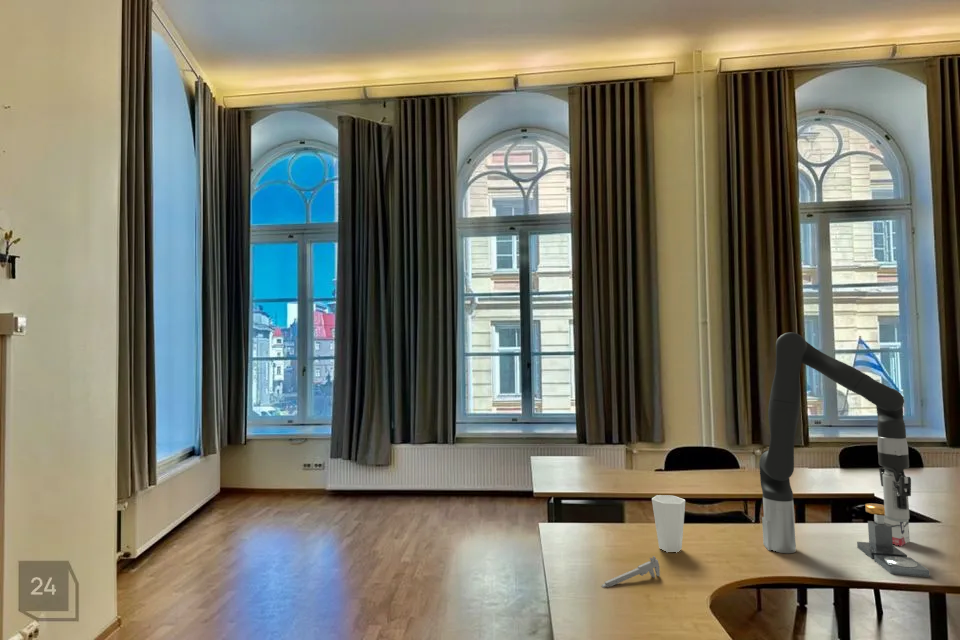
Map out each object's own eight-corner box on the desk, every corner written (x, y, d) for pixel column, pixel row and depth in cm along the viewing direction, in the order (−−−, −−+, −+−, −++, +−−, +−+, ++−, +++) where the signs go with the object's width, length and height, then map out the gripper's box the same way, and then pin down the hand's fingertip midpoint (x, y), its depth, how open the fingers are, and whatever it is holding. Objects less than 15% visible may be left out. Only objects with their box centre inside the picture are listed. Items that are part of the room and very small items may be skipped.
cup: (693, 552, 174) (691, 501, 175) (670, 557, 170) (668, 505, 171) (670, 541, 184) (668, 493, 185) (647, 545, 180) (646, 496, 181)
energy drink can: (900, 516, 163) (897, 469, 164) (914, 522, 157) (911, 473, 158) (880, 516, 163) (877, 468, 164) (893, 522, 157) (890, 473, 158)
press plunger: (873, 536, 168) (871, 508, 169) (863, 529, 175) (861, 502, 176) (898, 538, 167) (896, 510, 167) (886, 531, 173) (885, 504, 174)
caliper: (657, 575, 156) (656, 555, 157) (659, 577, 155) (659, 556, 156) (601, 587, 149) (600, 565, 150) (603, 588, 148) (602, 566, 149)
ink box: (901, 546, 177) (899, 512, 178) (884, 542, 181) (881, 508, 182) (910, 541, 182) (908, 508, 182) (893, 537, 186) (891, 504, 186)
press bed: (890, 573, 155) (890, 566, 155) (874, 561, 165) (874, 554, 165) (929, 577, 153) (929, 569, 153) (910, 563, 162) (910, 556, 163)
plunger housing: (871, 558, 167) (869, 527, 168) (857, 547, 177) (855, 518, 177) (907, 561, 164) (905, 529, 165) (891, 549, 174) (889, 520, 175)
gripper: (868, 447, 169) (871, 498, 168) (891, 455, 155) (894, 511, 154) (894, 447, 167) (898, 500, 166) (920, 456, 154) (924, 513, 152)
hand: (896, 505), depth 160 cm, fingers closed on energy drink can, 6 cm apart
